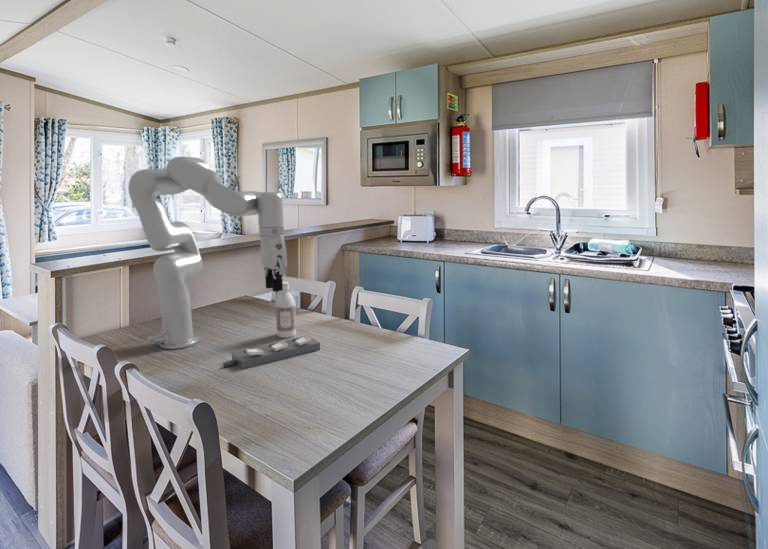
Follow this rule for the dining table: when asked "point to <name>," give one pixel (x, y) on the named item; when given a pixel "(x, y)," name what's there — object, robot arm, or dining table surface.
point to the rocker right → (303, 340)
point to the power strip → (272, 353)
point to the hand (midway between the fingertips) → (274, 288)
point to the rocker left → (254, 351)
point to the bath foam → (285, 313)
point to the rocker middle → (279, 346)
